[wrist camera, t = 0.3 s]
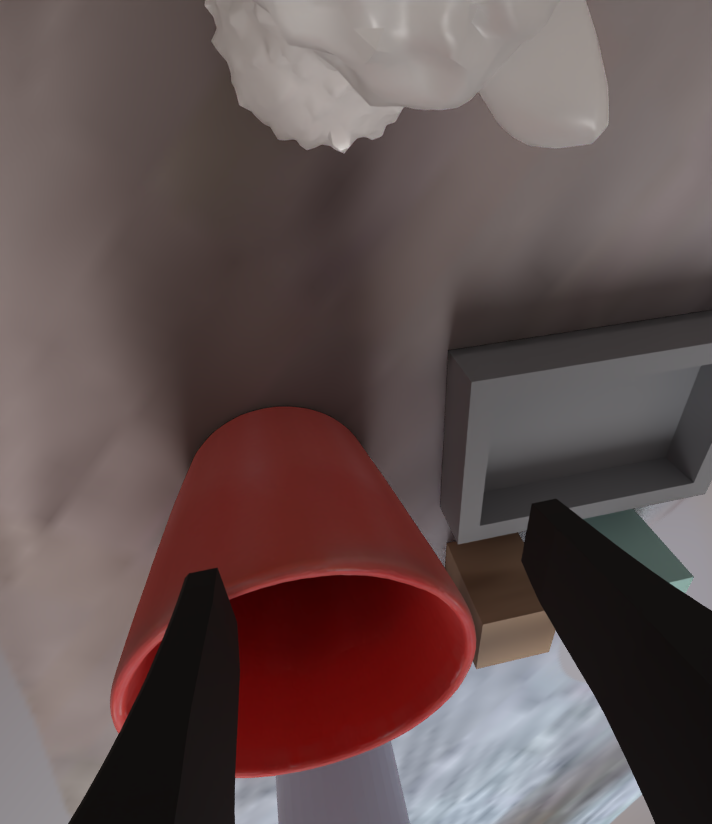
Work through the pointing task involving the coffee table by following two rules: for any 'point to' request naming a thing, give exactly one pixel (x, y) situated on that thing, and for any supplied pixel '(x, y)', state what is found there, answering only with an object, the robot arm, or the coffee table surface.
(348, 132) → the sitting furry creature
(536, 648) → the walnut block
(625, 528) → the teal block
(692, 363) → the tray
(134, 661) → the flower pot
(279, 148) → the coffee table surface
